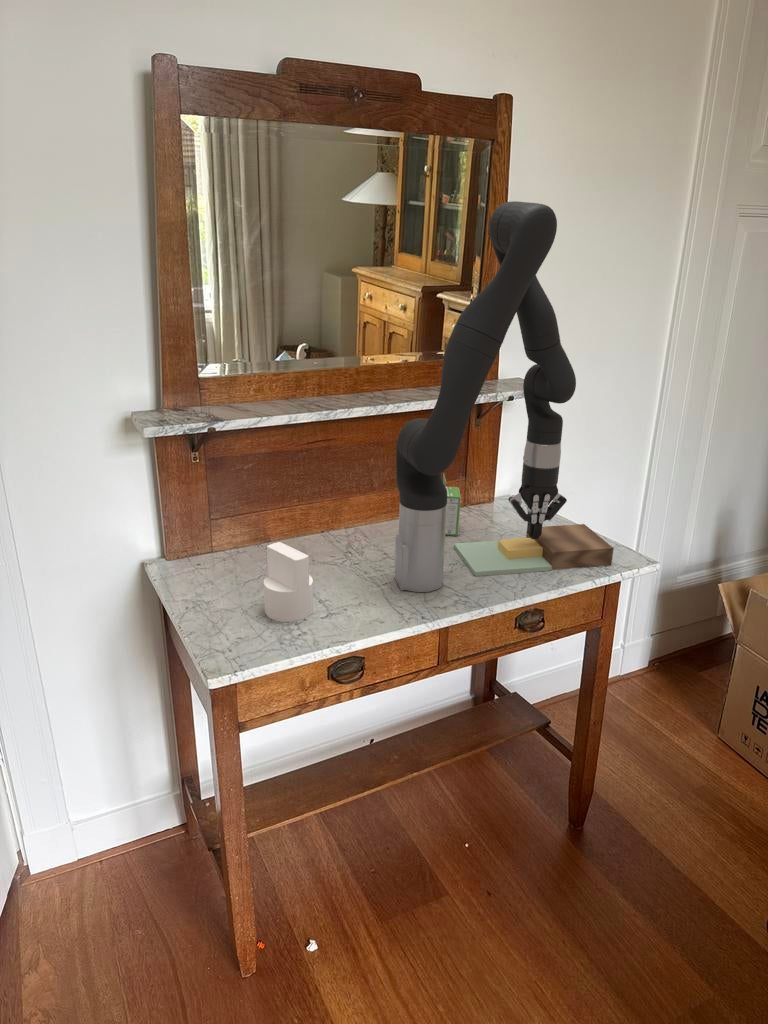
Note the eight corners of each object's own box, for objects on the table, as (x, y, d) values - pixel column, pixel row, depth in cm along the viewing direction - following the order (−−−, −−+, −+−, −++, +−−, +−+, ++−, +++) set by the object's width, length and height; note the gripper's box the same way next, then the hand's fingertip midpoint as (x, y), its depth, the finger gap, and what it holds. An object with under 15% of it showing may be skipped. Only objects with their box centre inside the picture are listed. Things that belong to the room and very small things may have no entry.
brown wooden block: (550, 569, 160) (552, 552, 158) (525, 543, 173) (527, 527, 171) (611, 565, 163) (613, 548, 161) (582, 539, 175) (584, 524, 174)
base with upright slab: (255, 609, 141) (252, 550, 136) (293, 594, 147) (291, 537, 142) (284, 626, 135) (282, 565, 131) (323, 610, 141) (322, 551, 136)
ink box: (458, 536, 176) (462, 481, 171) (441, 536, 176) (444, 481, 171) (456, 525, 182) (459, 472, 178) (440, 524, 182) (443, 472, 178)
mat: (474, 576, 156) (475, 571, 156) (453, 547, 170) (453, 543, 169) (551, 570, 159) (552, 566, 159) (524, 542, 173) (525, 538, 173)
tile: (507, 559, 162) (508, 550, 161) (497, 548, 167) (498, 539, 166) (542, 556, 163) (543, 548, 163) (531, 545, 169) (532, 537, 168)
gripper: (518, 468, 153) (511, 546, 159) (578, 465, 156) (569, 542, 162) (505, 457, 160) (498, 533, 166) (563, 455, 163) (554, 529, 169)
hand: (533, 537), depth 164 cm, fingers closed
